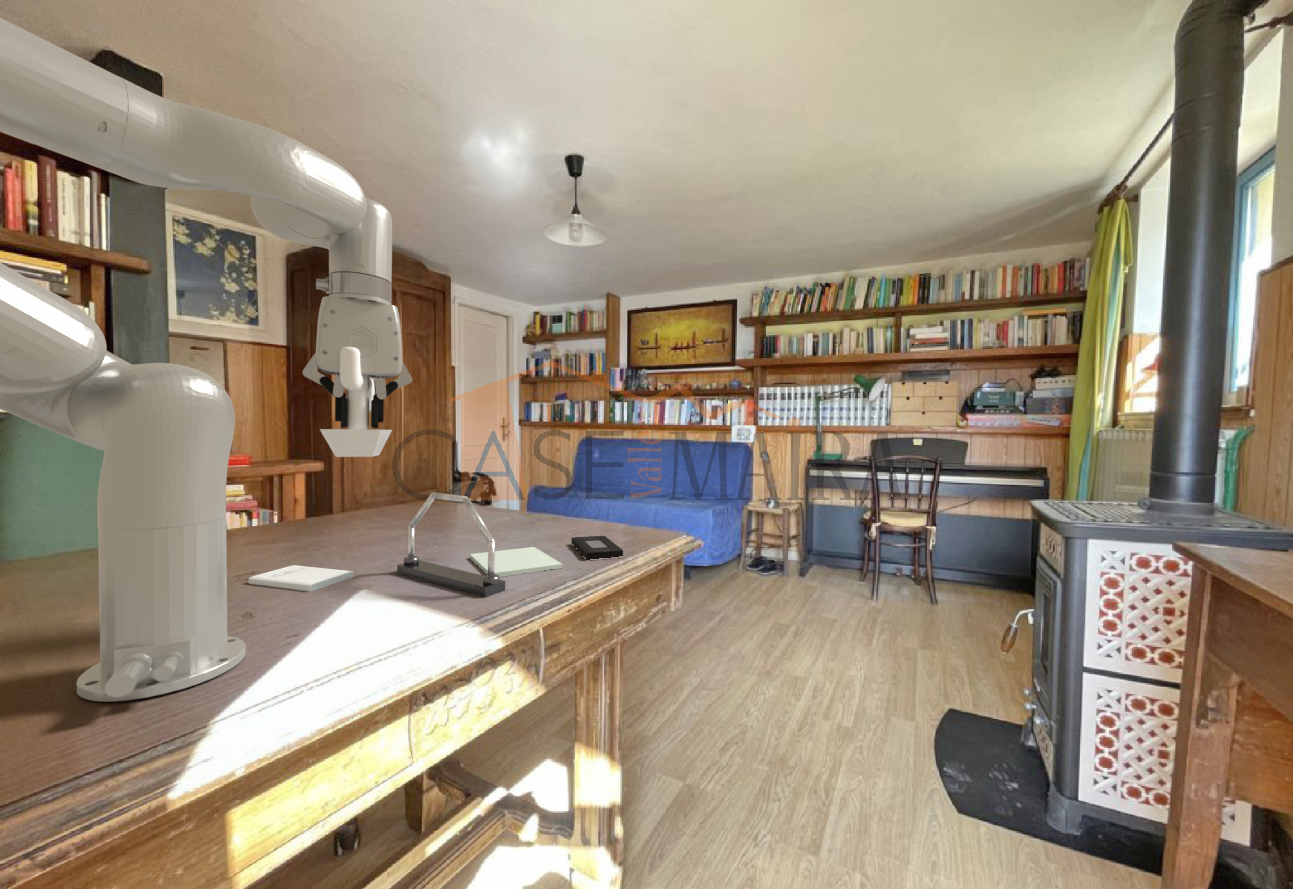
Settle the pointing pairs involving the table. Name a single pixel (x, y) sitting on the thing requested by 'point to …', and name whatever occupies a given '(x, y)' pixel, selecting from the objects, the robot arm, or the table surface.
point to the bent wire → (446, 574)
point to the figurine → (356, 412)
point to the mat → (516, 561)
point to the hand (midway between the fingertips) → (359, 426)
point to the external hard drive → (301, 578)
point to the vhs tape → (596, 547)
